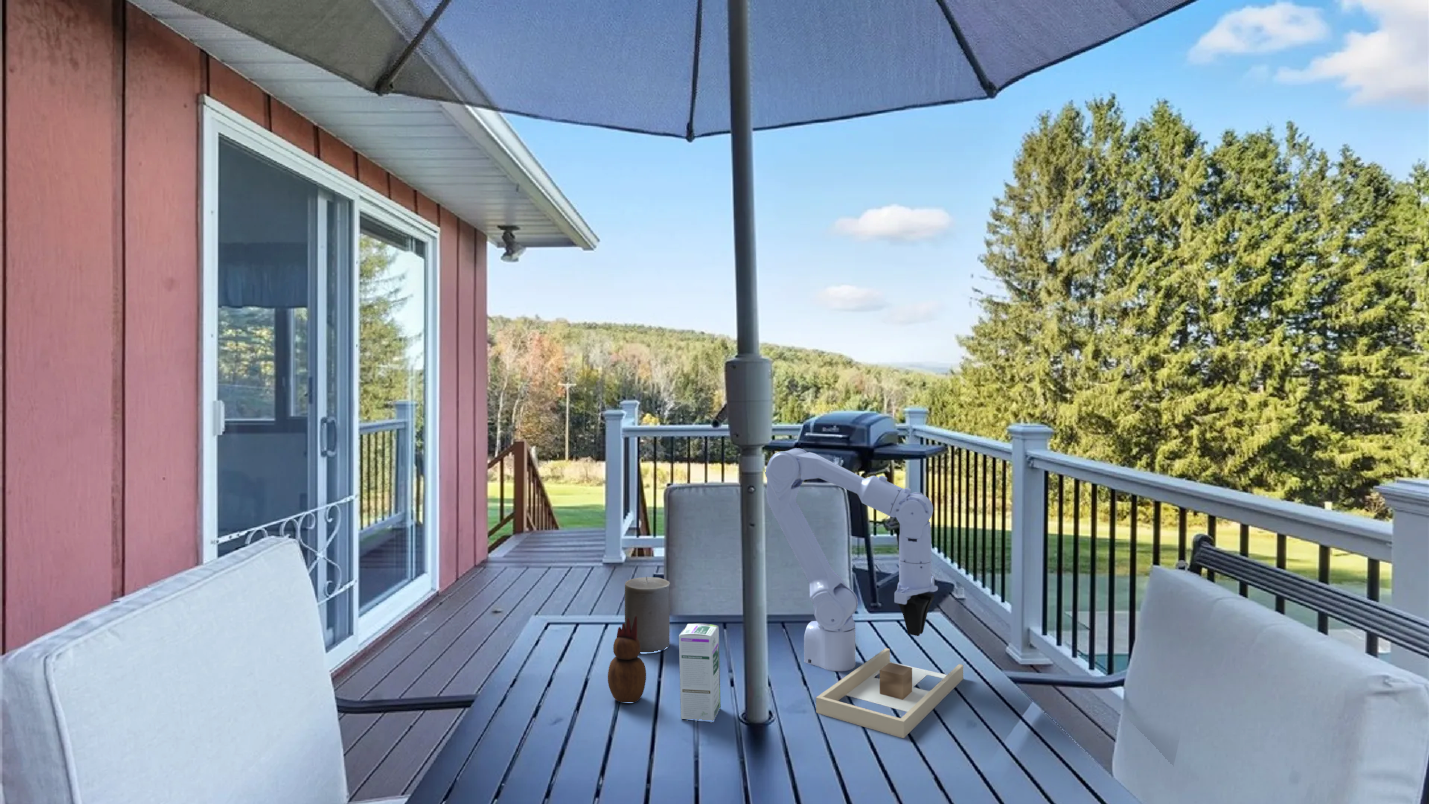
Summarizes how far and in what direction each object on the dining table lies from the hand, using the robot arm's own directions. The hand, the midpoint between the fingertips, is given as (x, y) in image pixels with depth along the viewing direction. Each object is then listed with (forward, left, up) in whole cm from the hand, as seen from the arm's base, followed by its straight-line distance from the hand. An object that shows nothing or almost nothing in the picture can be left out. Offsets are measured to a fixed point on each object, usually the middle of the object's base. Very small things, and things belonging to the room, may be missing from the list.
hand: (915, 633), depth 134 cm
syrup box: (-25, -33, -10) cm, 42 cm away
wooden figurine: (-39, -36, -10) cm, 54 cm away
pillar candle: (-54, -14, -10) cm, 56 cm away
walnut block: (0, -9, -8) cm, 12 cm away
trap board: (0, -10, -9) cm, 14 cm away
